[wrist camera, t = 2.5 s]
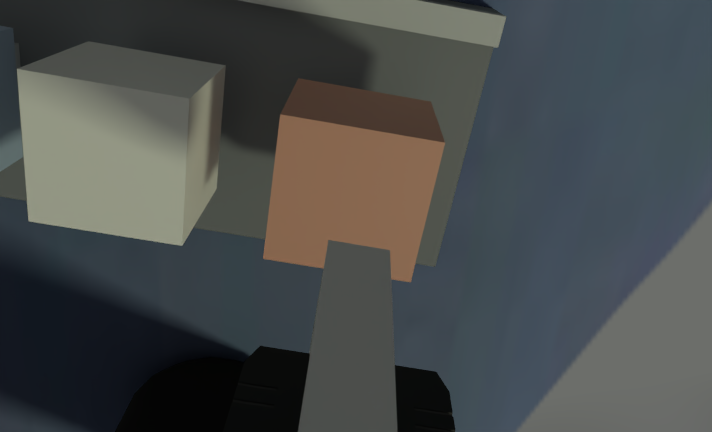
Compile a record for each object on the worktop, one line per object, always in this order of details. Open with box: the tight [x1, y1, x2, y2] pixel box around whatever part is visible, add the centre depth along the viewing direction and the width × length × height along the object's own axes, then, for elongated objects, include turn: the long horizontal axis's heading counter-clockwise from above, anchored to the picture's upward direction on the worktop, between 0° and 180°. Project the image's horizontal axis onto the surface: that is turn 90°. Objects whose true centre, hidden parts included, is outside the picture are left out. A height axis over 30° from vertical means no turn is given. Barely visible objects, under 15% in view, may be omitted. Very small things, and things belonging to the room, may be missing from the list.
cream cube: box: [17, 41, 226, 246], centre depth 21 cm, size 5×5×5 cm
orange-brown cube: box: [263, 78, 445, 282], centre depth 22 cm, size 5×5×5 cm
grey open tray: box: [0, 0, 506, 267], centre depth 25 cm, size 26×12×6 cm, turn 80°
